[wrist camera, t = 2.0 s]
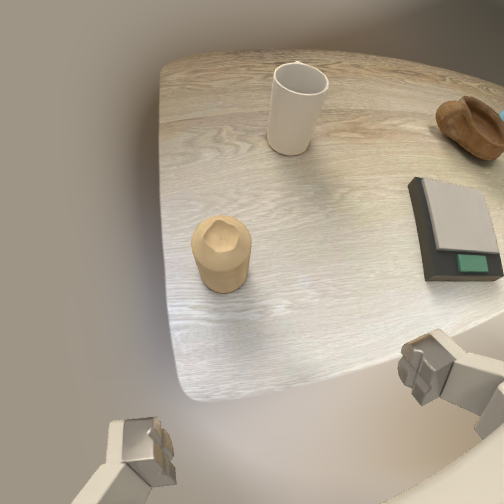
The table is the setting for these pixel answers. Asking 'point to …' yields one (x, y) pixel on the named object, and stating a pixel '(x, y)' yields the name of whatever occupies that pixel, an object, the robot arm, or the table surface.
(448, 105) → the bowl
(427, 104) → the table surface
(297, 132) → the mug
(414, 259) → the table surface
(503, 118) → the decorative pot
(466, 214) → the scale
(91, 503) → the robot arm
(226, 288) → the candle
